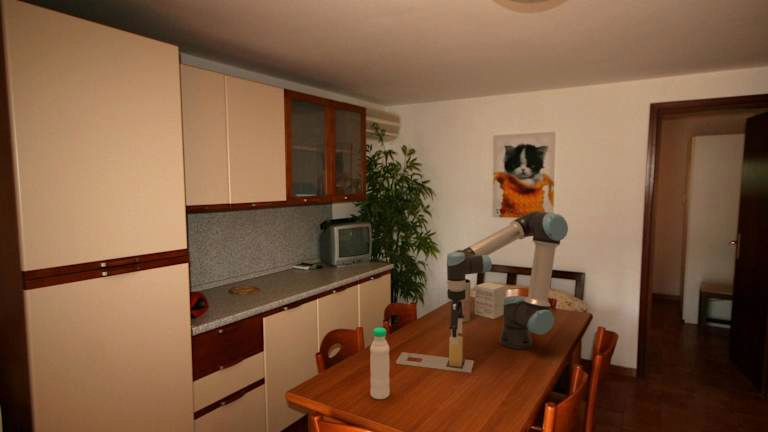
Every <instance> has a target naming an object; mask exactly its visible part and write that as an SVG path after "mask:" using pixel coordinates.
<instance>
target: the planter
mask: <svg viewBox="0 0 768 432" xmlns="http://www.w3.org/2000/svg"><path fill="white" fill-rule="evenodd" d="M465 282H466V288H465V293H466V298H465V299H464V300H462V311H463V315H464V318H462V323H467V322H468V323H469V321H471V283H472V281H471V280H470V279H467V278H465ZM452 302H453V300H452ZM452 302H451V303H452Z"/></svg>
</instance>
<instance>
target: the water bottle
mask: <svg viewBox="0 0 768 432" xmlns="http://www.w3.org/2000/svg"><path fill="white" fill-rule="evenodd" d="M372 335H373V337H374V339H373V341H372V343H371V345H370V346H369V347H370V348H369V352H370V356H369V357H370V359H369V362H370V380H369V381H370V390H369V391H370V396H371V397H372V398H373V399H375V400H385V399H387V398H388V397H389V396H390V394H391V393H390V392H391V391H390V346H389V343H388V341H387V339H386V336H387V330H386V328H384V327H376V328H374V329H373V330H372Z"/></svg>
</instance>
